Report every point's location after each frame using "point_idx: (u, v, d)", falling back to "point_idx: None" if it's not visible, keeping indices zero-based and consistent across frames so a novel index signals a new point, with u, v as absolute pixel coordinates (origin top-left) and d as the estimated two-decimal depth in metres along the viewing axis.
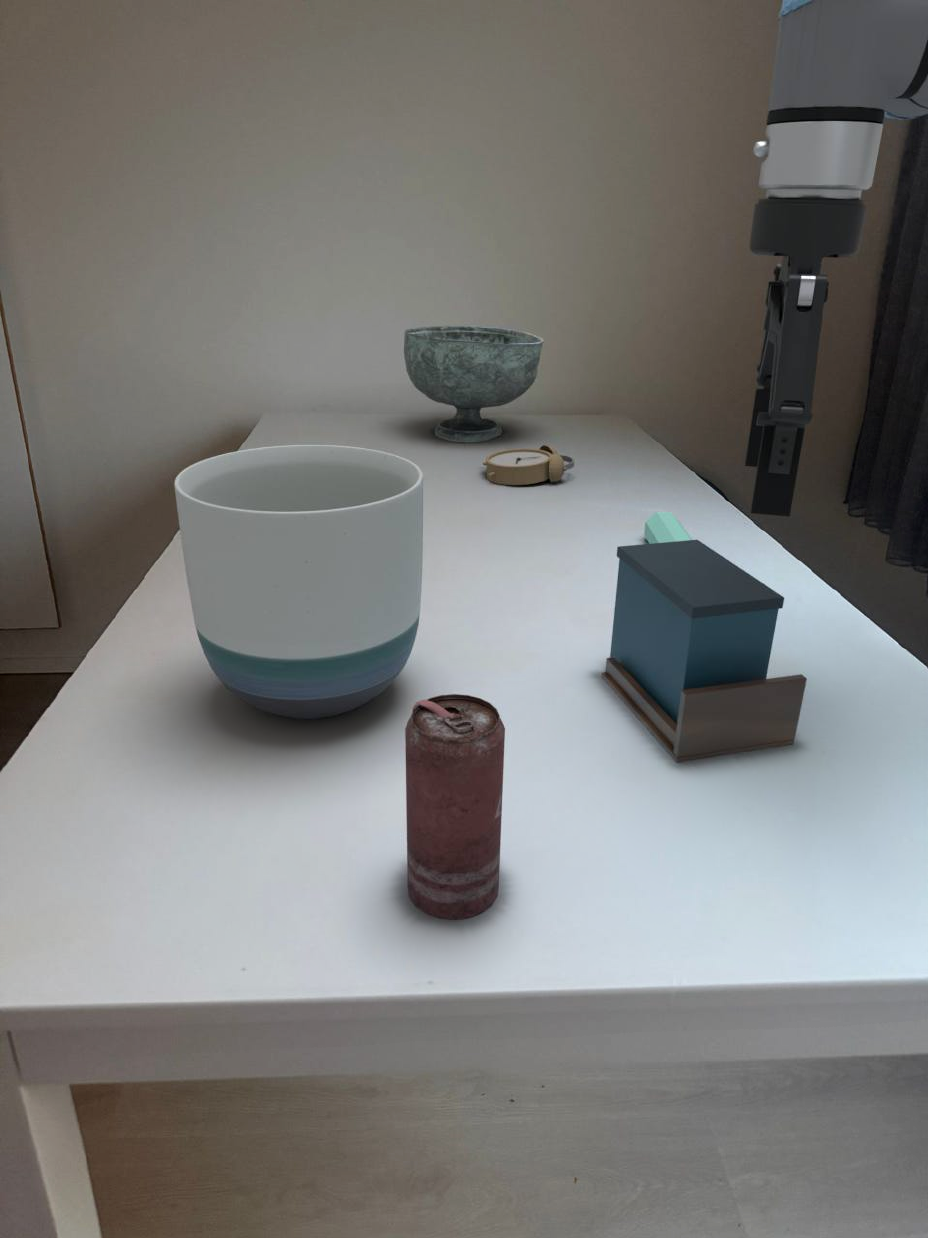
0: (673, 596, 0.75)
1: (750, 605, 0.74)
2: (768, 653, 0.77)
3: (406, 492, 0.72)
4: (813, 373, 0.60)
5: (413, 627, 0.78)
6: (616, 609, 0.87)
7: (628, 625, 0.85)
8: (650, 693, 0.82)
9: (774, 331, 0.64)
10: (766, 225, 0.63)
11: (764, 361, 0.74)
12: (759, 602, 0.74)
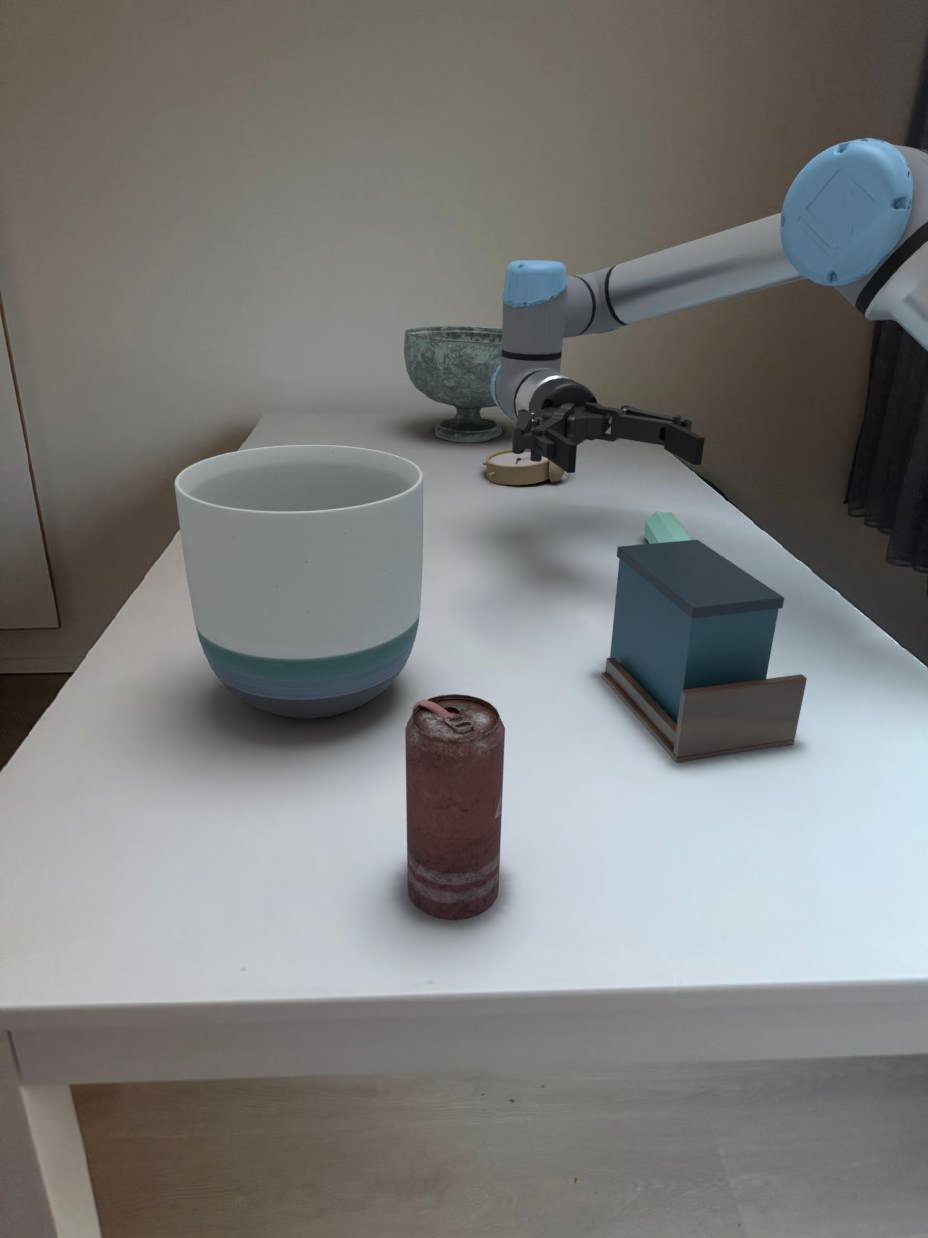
0: (673, 596, 0.75)
1: (750, 605, 0.74)
2: (768, 653, 0.77)
3: (406, 492, 0.72)
4: None
5: (413, 627, 0.78)
6: (616, 609, 0.87)
7: (628, 625, 0.85)
8: (650, 693, 0.82)
9: None
10: None
11: (645, 441, 0.98)
12: (759, 602, 0.74)
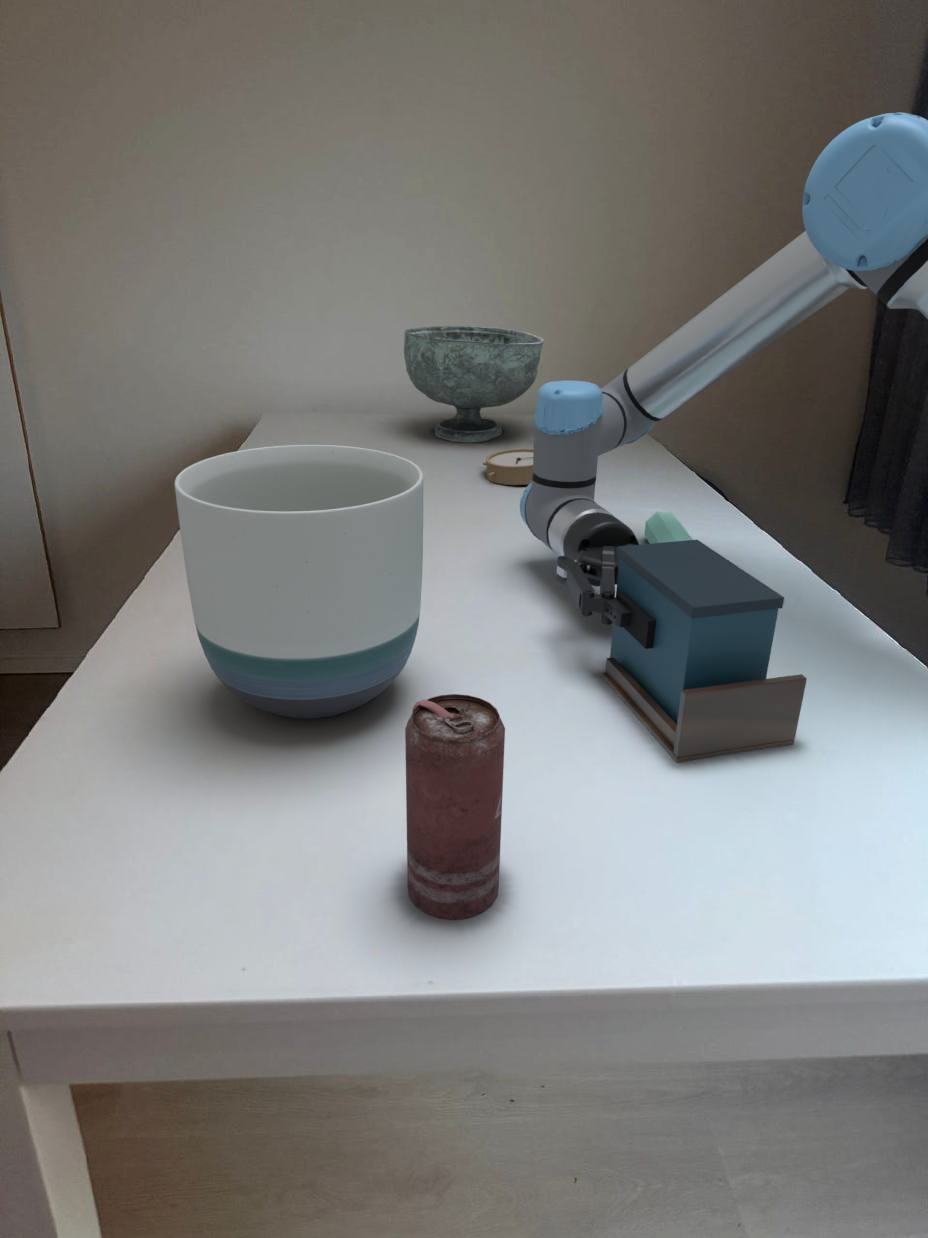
0: (673, 596, 0.75)
1: (750, 605, 0.74)
2: (768, 653, 0.77)
3: (406, 492, 0.72)
4: (576, 581, 0.88)
5: (413, 627, 0.78)
6: None
7: None
8: (650, 693, 0.82)
9: None
10: None
11: None
12: (759, 602, 0.74)
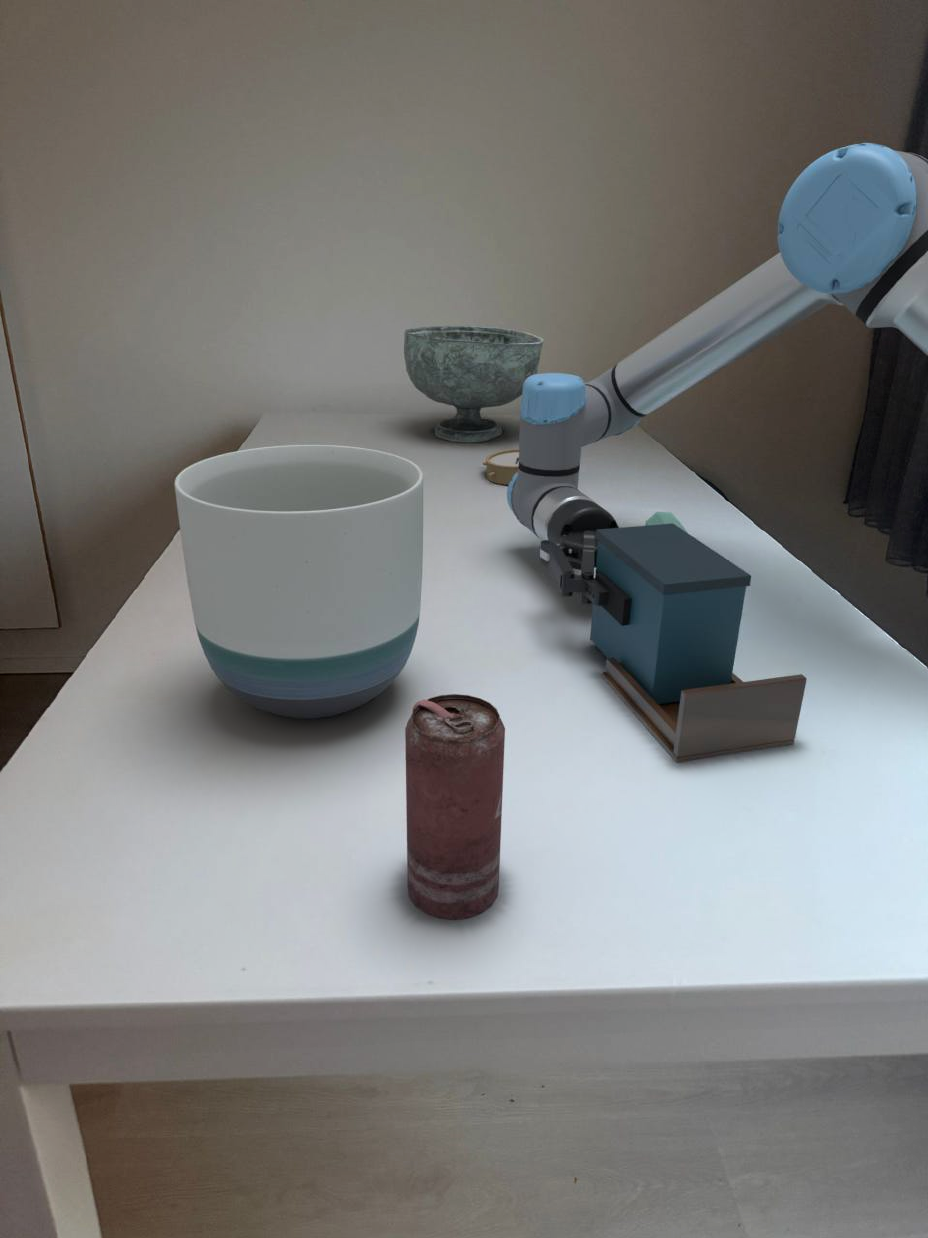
0: (646, 575, 0.80)
1: (719, 582, 0.78)
2: (737, 629, 0.81)
3: (406, 492, 0.72)
4: (557, 563, 0.92)
5: (413, 627, 0.78)
6: None
7: None
8: (626, 668, 0.86)
9: None
10: None
11: None
12: (727, 580, 0.78)
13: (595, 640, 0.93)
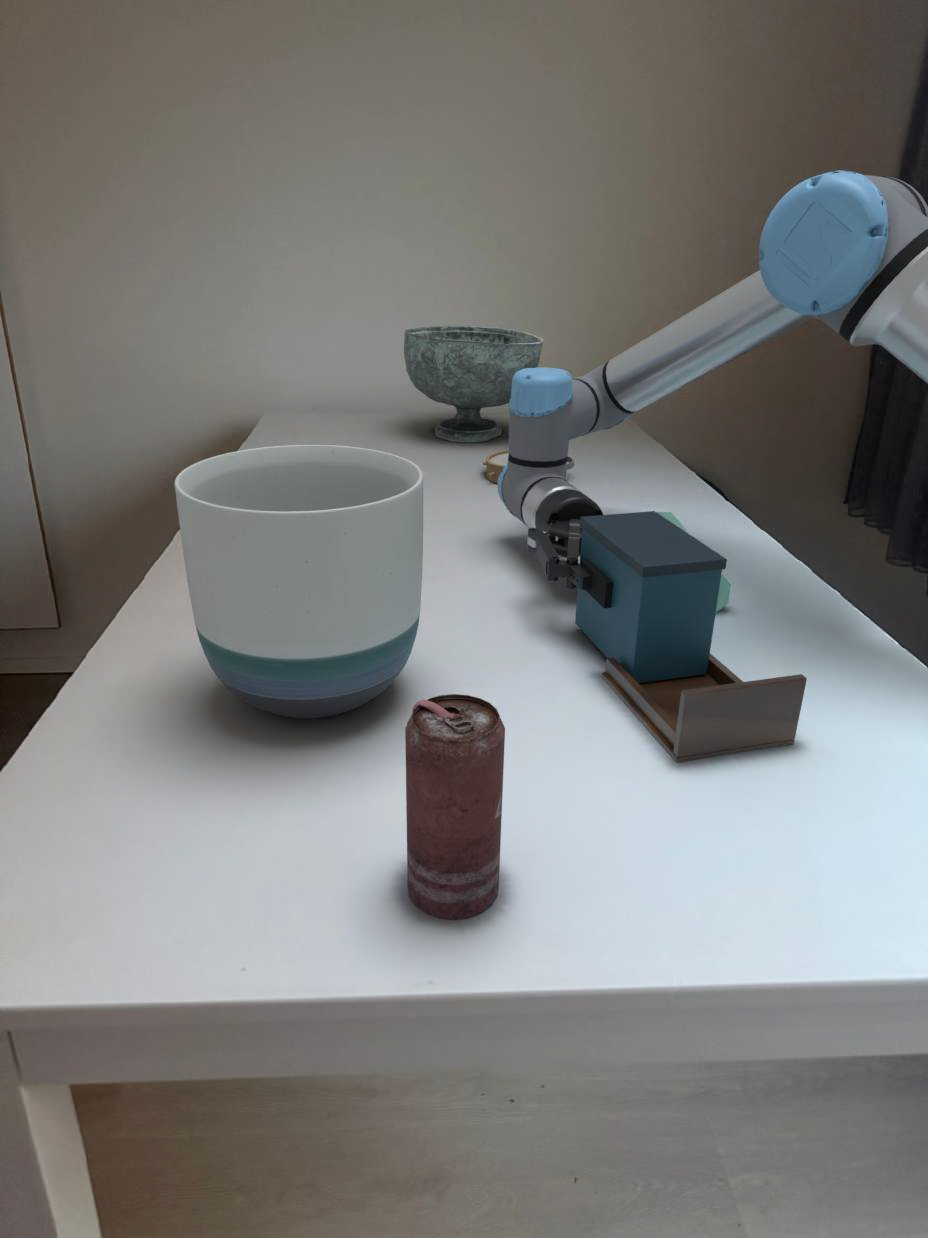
0: (626, 558, 0.83)
1: (695, 566, 0.82)
2: (713, 610, 0.85)
3: (406, 492, 0.72)
4: (543, 549, 0.95)
5: (413, 627, 0.78)
6: None
7: None
8: (609, 649, 0.90)
9: None
10: None
11: None
12: (703, 563, 0.82)
13: (580, 623, 0.96)
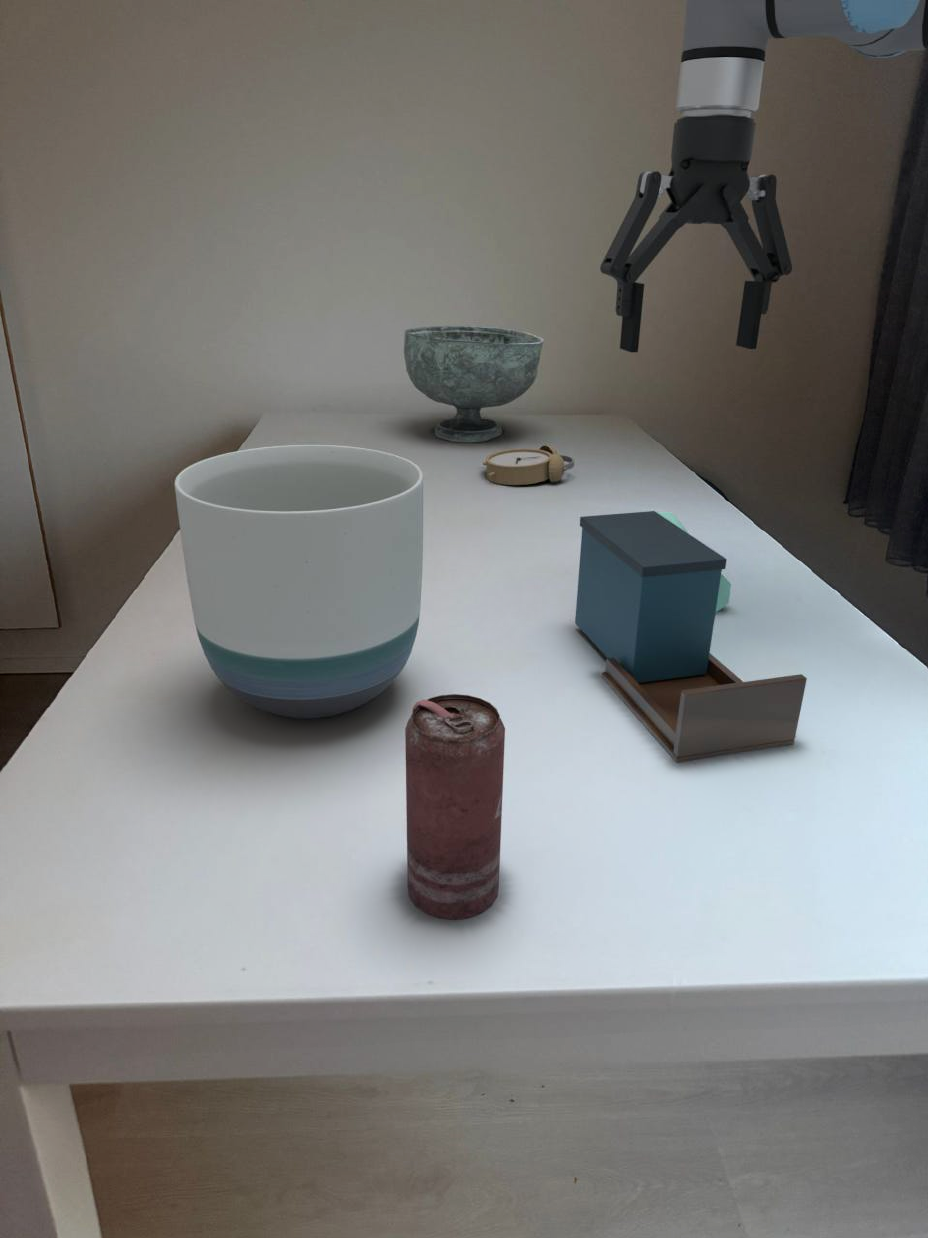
0: (626, 558, 0.83)
1: (695, 565, 0.82)
2: (713, 610, 0.85)
3: (406, 492, 0.72)
4: (624, 239, 0.87)
5: (413, 627, 0.78)
6: (580, 575, 0.95)
7: (590, 588, 0.92)
8: (609, 649, 0.90)
9: (659, 217, 0.89)
10: None
11: (741, 255, 0.93)
12: (703, 563, 0.82)
13: (580, 623, 0.96)
